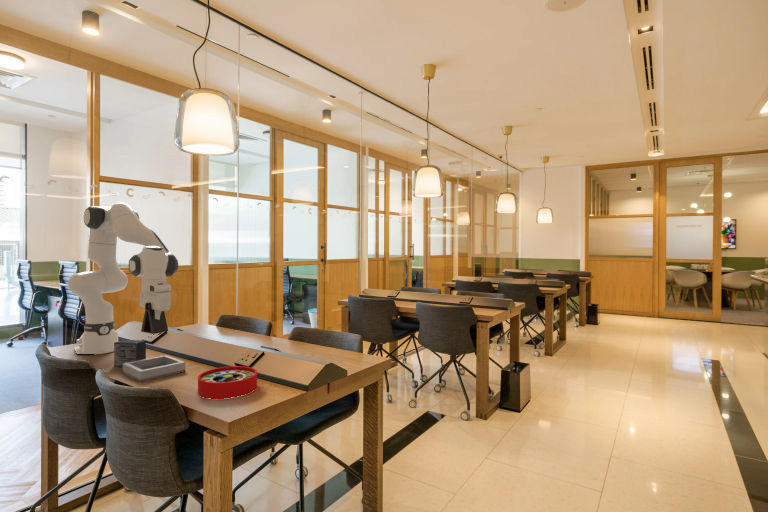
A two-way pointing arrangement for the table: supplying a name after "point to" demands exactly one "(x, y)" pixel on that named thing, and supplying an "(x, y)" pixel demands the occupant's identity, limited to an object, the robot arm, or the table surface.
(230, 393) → the toy clock
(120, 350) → the small box
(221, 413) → the table surface
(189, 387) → the table surface
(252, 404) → the table surface
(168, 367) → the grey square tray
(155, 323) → the door stopper
